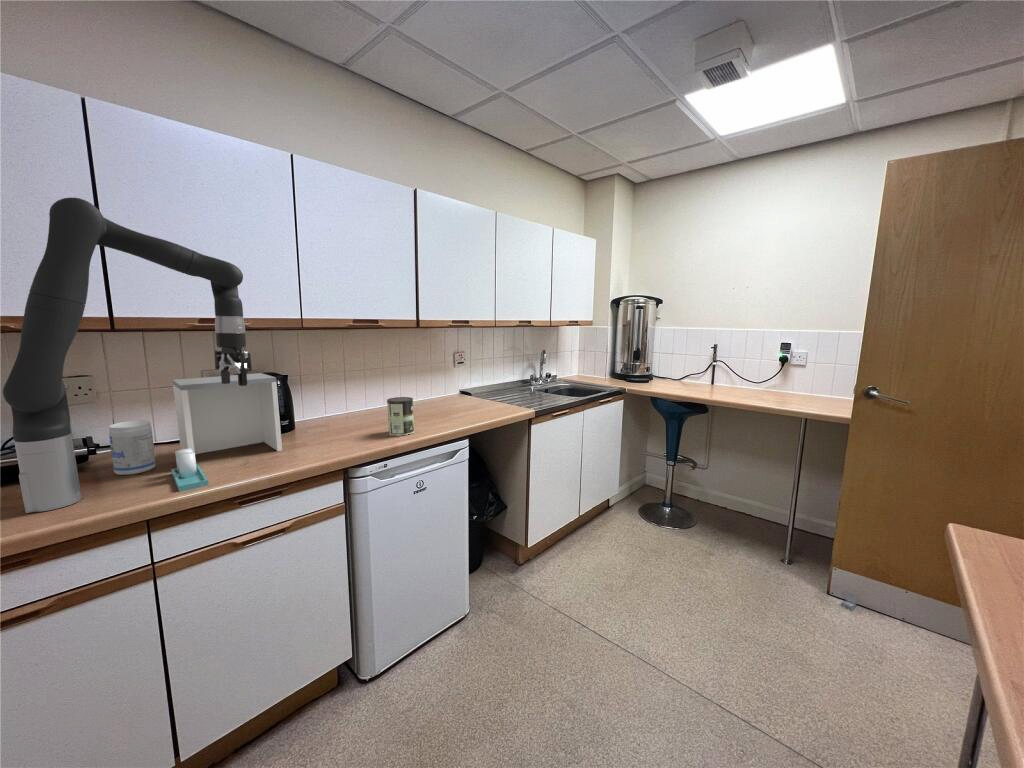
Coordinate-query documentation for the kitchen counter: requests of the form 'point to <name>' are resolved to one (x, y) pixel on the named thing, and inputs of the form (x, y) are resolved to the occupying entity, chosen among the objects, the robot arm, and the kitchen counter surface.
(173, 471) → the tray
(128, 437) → the supplement tub
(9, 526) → the kitchen counter surface
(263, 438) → the white shelf
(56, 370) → the robot arm
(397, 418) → the coffee can
